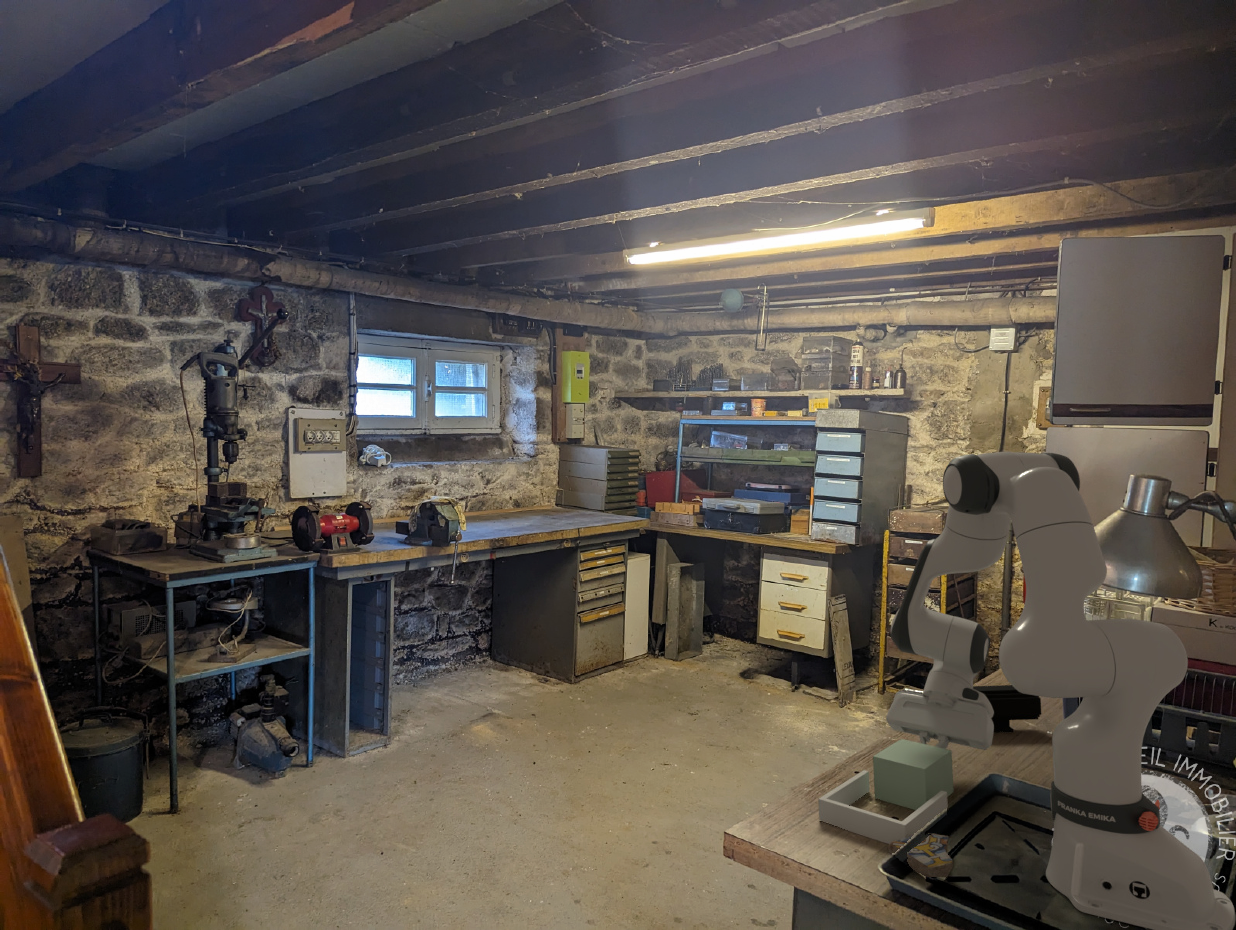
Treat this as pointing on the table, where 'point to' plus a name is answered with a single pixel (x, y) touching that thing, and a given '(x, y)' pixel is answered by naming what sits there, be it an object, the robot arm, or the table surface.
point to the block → (912, 773)
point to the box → (872, 824)
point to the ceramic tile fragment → (927, 855)
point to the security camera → (1010, 705)
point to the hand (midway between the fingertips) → (928, 757)
